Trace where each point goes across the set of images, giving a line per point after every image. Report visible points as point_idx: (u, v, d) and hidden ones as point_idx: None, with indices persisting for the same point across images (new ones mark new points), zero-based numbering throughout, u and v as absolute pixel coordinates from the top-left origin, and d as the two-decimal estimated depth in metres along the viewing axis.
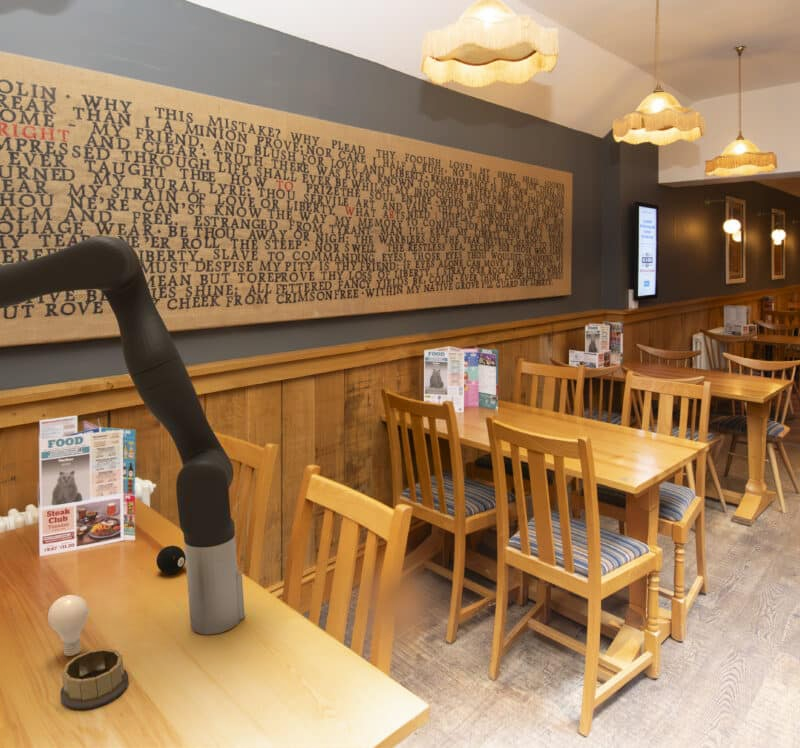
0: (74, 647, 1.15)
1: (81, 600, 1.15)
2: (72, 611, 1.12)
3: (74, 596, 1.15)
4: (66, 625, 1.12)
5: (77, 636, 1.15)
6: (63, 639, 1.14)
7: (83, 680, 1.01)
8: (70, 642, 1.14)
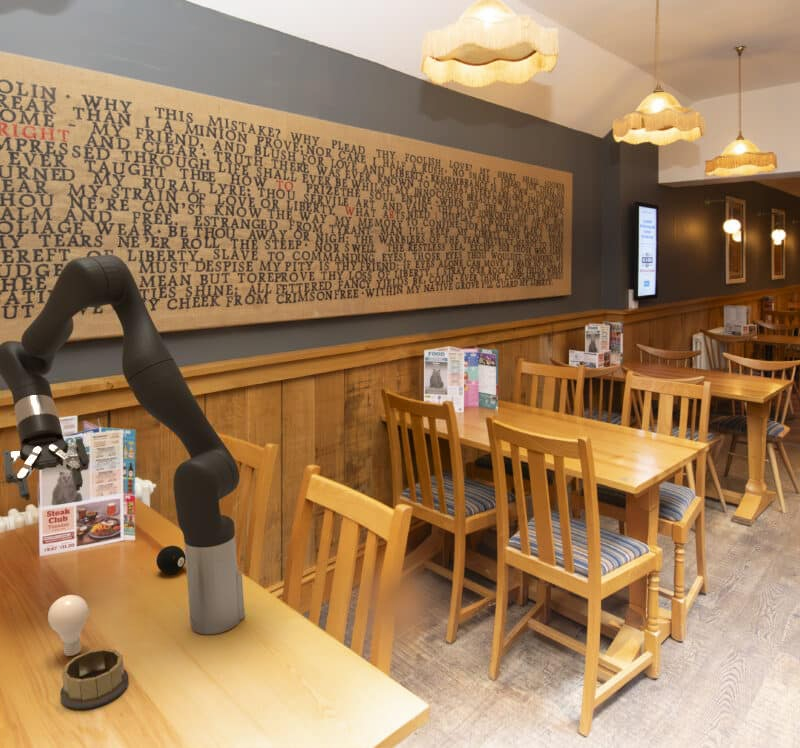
0: (74, 647, 1.15)
1: (81, 600, 1.15)
2: (72, 611, 1.12)
3: (74, 596, 1.15)
4: (66, 625, 1.12)
5: (77, 636, 1.15)
6: (63, 639, 1.14)
7: (83, 680, 1.01)
8: (70, 642, 1.14)
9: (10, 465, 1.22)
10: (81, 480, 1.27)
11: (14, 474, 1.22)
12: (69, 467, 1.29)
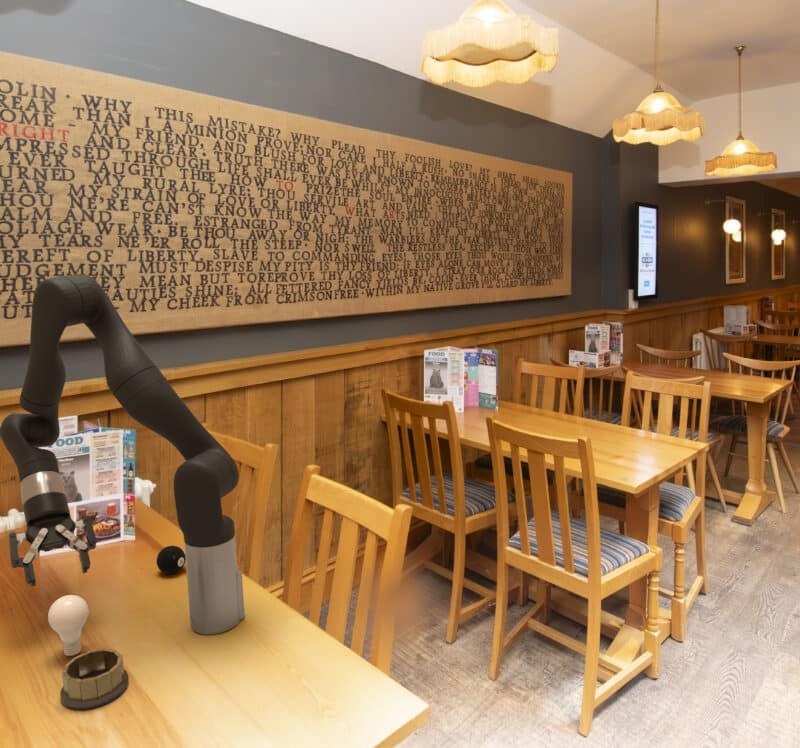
0: (74, 647, 1.15)
1: (81, 600, 1.15)
2: (72, 611, 1.12)
3: (74, 596, 1.15)
4: (66, 625, 1.12)
5: (77, 636, 1.15)
6: (63, 639, 1.14)
7: (83, 680, 1.01)
8: (70, 642, 1.14)
9: (16, 549, 1.19)
10: (89, 562, 1.23)
11: (20, 559, 1.18)
12: (76, 547, 1.25)
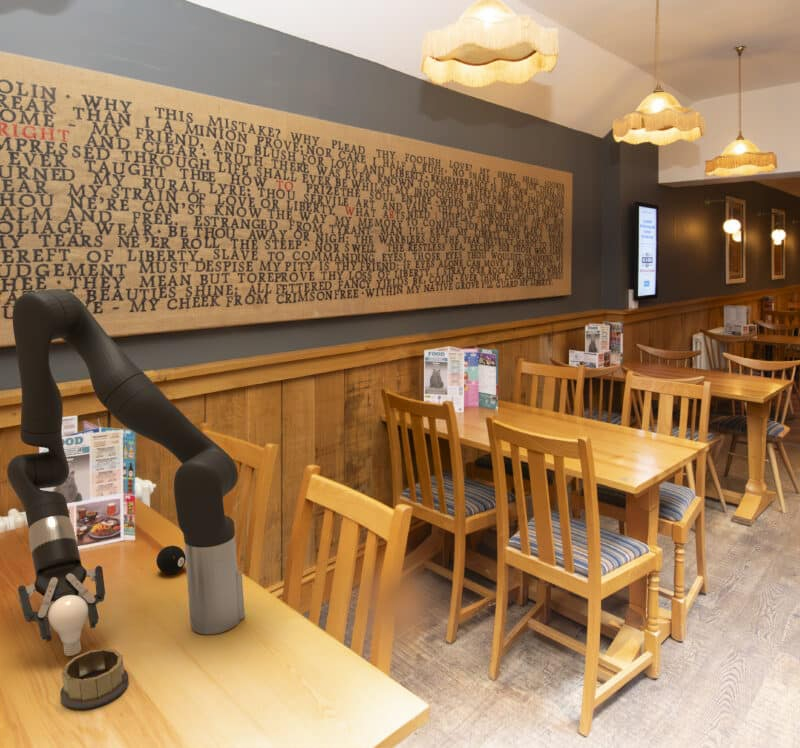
0: (74, 647, 1.15)
1: (81, 600, 1.15)
2: (72, 611, 1.12)
3: (74, 596, 1.15)
4: (66, 625, 1.12)
5: (77, 636, 1.15)
6: (63, 639, 1.14)
7: (83, 680, 1.01)
8: (70, 642, 1.14)
9: (28, 603, 1.13)
10: (97, 617, 1.16)
11: (34, 613, 1.13)
12: (84, 599, 1.19)
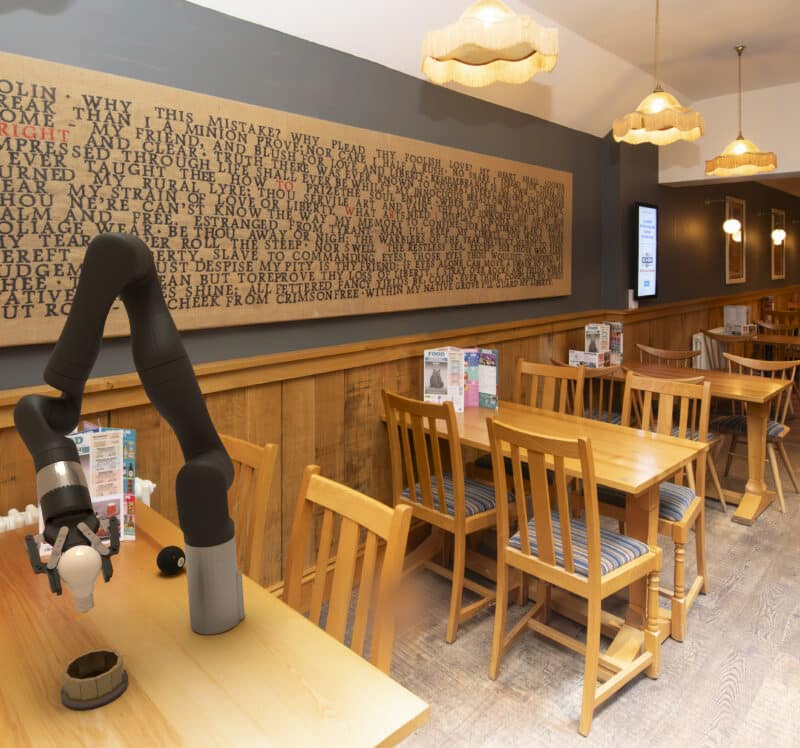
0: (87, 602, 1.04)
1: (94, 551, 1.04)
2: (84, 562, 1.02)
3: (86, 546, 1.04)
4: (78, 577, 1.01)
5: (90, 590, 1.04)
6: (75, 593, 1.03)
7: (83, 680, 1.01)
8: (82, 597, 1.03)
9: (36, 553, 1.02)
10: (111, 570, 1.05)
11: (43, 564, 1.02)
12: (98, 551, 1.08)
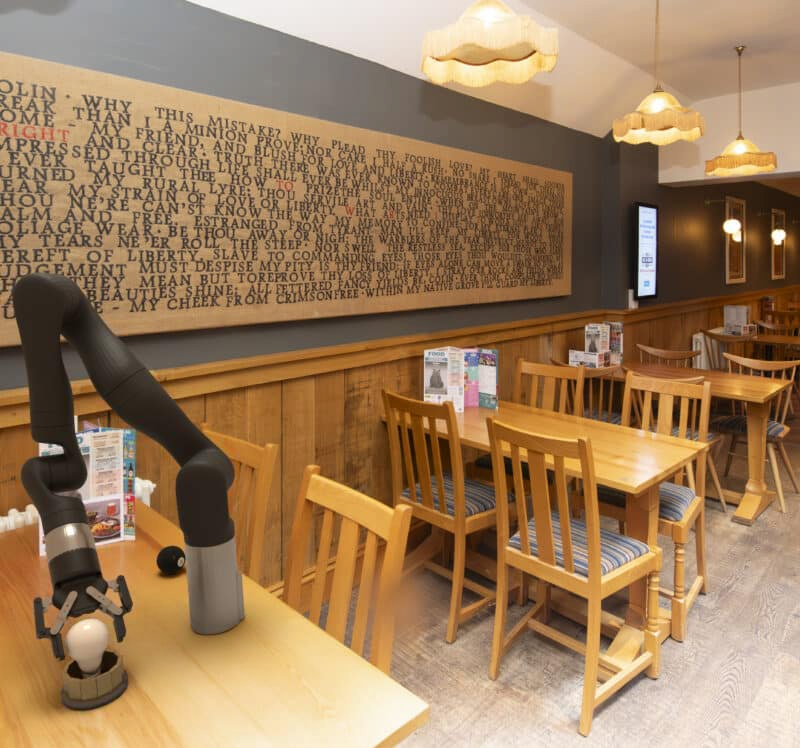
0: (95, 676, 1.05)
1: (101, 624, 1.05)
2: (92, 637, 1.03)
3: (93, 620, 1.05)
4: (86, 652, 1.02)
5: (97, 664, 1.05)
6: (82, 667, 1.04)
7: (83, 680, 1.01)
8: (90, 671, 1.04)
9: (41, 618, 1.03)
10: (124, 630, 1.07)
11: (46, 629, 1.03)
12: (109, 611, 1.09)
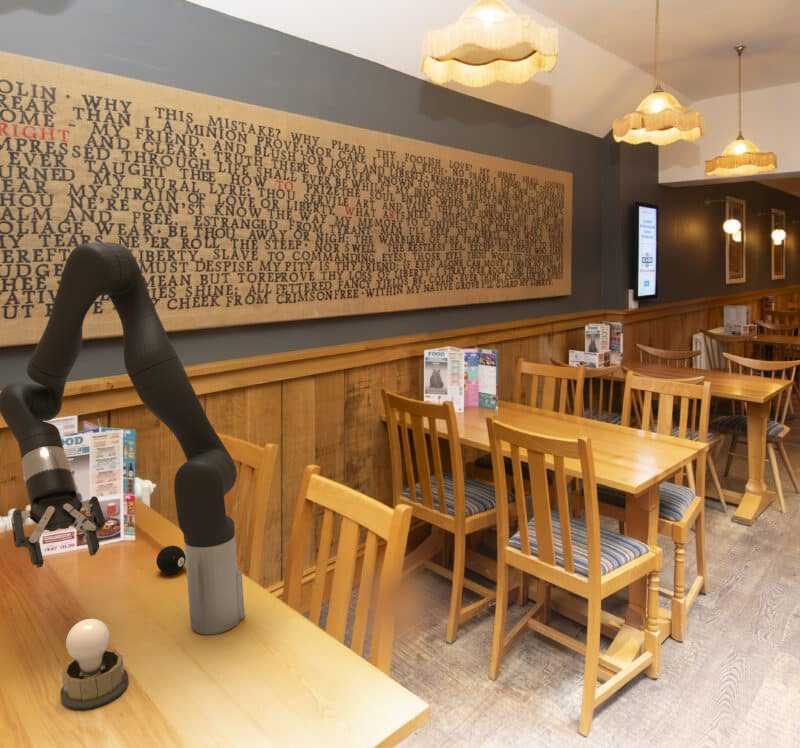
0: (95, 676, 1.05)
1: (102, 624, 1.05)
2: (93, 637, 1.03)
3: (94, 620, 1.05)
4: (87, 652, 1.02)
5: (98, 664, 1.05)
6: (83, 667, 1.04)
7: (83, 680, 1.01)
8: (90, 671, 1.04)
9: (21, 527, 1.11)
10: (97, 544, 1.16)
11: (25, 538, 1.11)
12: (83, 528, 1.18)
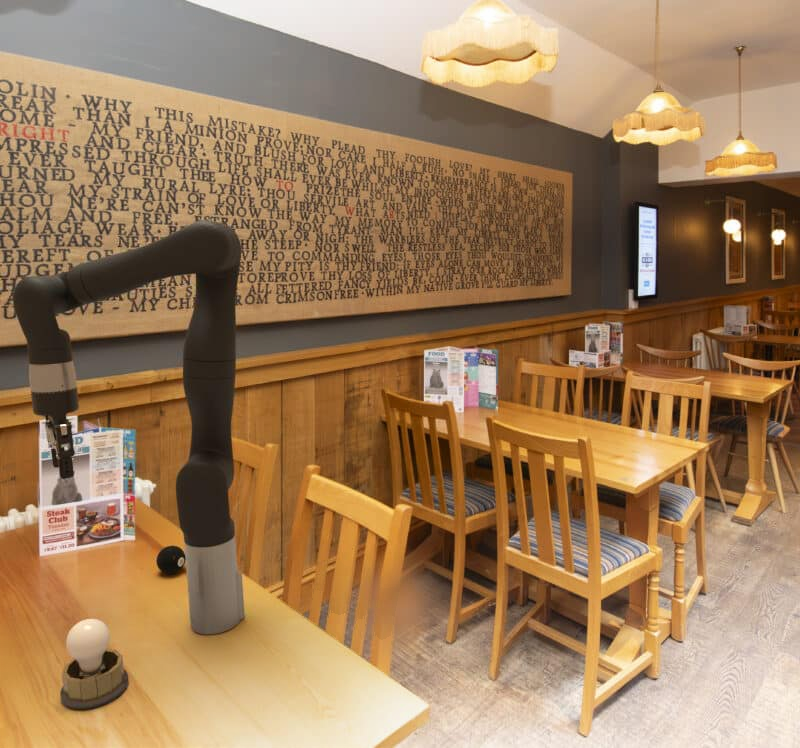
0: (95, 676, 1.05)
1: (102, 624, 1.05)
2: (93, 637, 1.03)
3: (94, 620, 1.05)
4: (87, 652, 1.02)
5: (98, 664, 1.05)
6: (83, 667, 1.04)
7: (83, 680, 1.01)
8: (90, 671, 1.04)
9: None
10: None
11: None
12: None
